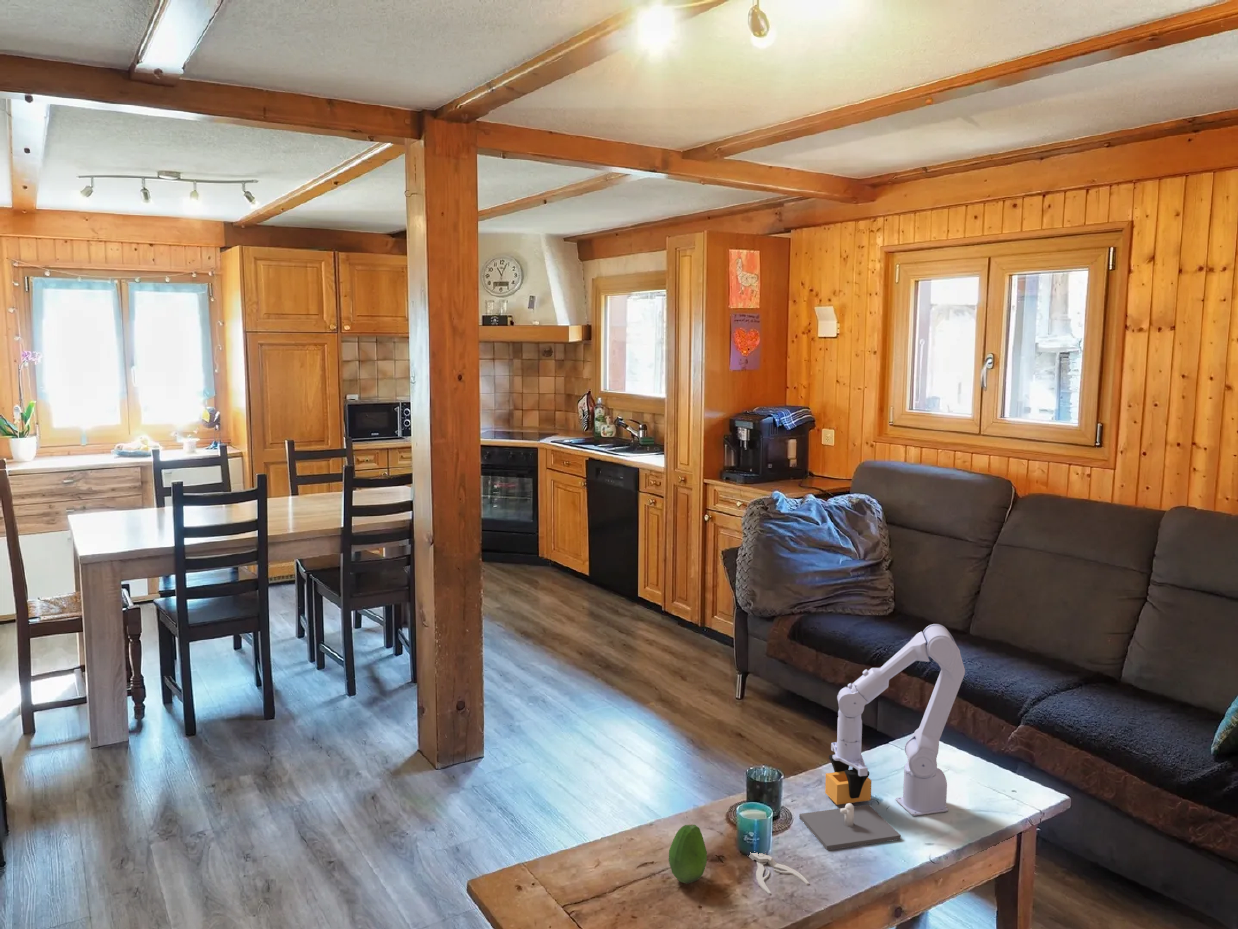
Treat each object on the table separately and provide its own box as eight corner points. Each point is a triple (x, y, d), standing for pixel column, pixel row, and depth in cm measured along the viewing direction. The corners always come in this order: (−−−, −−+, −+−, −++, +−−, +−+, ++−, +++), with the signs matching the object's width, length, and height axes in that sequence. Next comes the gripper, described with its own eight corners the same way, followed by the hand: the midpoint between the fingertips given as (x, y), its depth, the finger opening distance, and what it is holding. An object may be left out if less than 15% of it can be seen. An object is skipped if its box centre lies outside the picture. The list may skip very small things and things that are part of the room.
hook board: (869, 808, 212) (869, 784, 211) (900, 839, 199) (901, 814, 198) (799, 818, 208) (799, 793, 207) (826, 850, 194) (827, 824, 194)
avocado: (714, 880, 184) (715, 826, 182) (688, 896, 178) (688, 840, 177) (686, 864, 189) (687, 811, 188) (660, 878, 184) (660, 824, 183)
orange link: (858, 788, 220) (859, 769, 219) (870, 800, 214) (871, 780, 214) (825, 793, 218) (825, 773, 217) (836, 804, 212) (837, 785, 212)
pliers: (768, 889, 178) (732, 850, 192) (767, 897, 179) (732, 857, 192) (810, 878, 182) (771, 841, 196) (809, 886, 182) (771, 848, 196)
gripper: (820, 727, 220) (819, 779, 222) (848, 752, 206) (847, 807, 208) (846, 724, 222) (845, 775, 224) (876, 749, 208) (874, 803, 210)
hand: (848, 791), depth 216 cm, fingers closed on orange link, 6 cm apart
